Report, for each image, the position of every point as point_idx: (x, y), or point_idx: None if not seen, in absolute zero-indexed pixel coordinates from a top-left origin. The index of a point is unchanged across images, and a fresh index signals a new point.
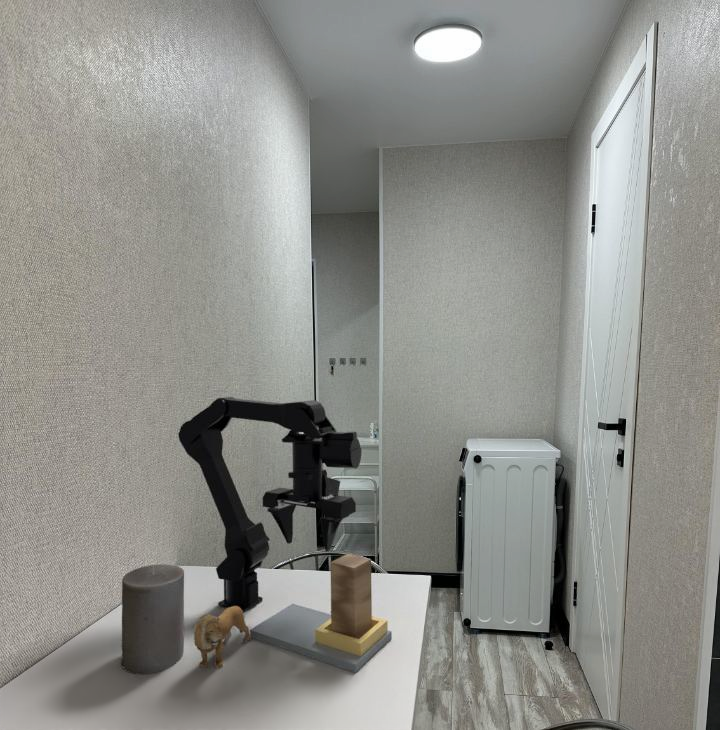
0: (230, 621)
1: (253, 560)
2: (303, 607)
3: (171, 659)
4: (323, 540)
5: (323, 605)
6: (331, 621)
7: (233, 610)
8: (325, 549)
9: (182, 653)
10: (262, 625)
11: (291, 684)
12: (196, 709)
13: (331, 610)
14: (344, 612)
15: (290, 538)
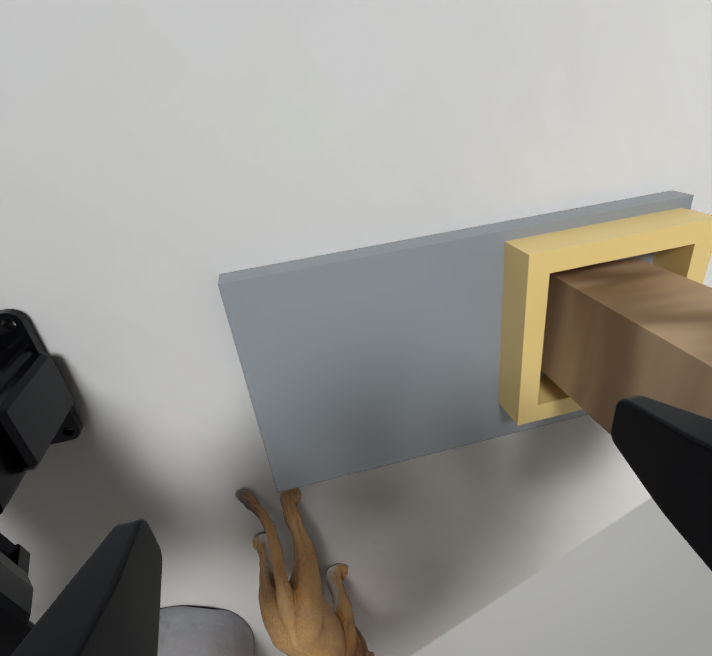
0: (328, 627)
1: (26, 615)
2: (289, 276)
3: (252, 647)
4: (705, 562)
5: (295, 143)
6: (566, 392)
7: (314, 640)
8: (626, 454)
9: (229, 618)
10: (285, 456)
11: (523, 498)
12: (421, 624)
13: (594, 417)
14: None
15: (143, 582)
